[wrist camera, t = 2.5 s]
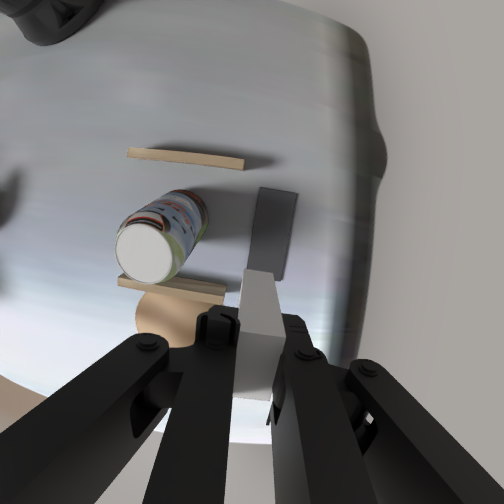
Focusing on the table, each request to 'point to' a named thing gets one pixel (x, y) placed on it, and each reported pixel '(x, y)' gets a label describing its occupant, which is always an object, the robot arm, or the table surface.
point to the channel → (176, 284)
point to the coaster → (169, 317)
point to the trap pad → (271, 231)
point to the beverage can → (160, 237)
